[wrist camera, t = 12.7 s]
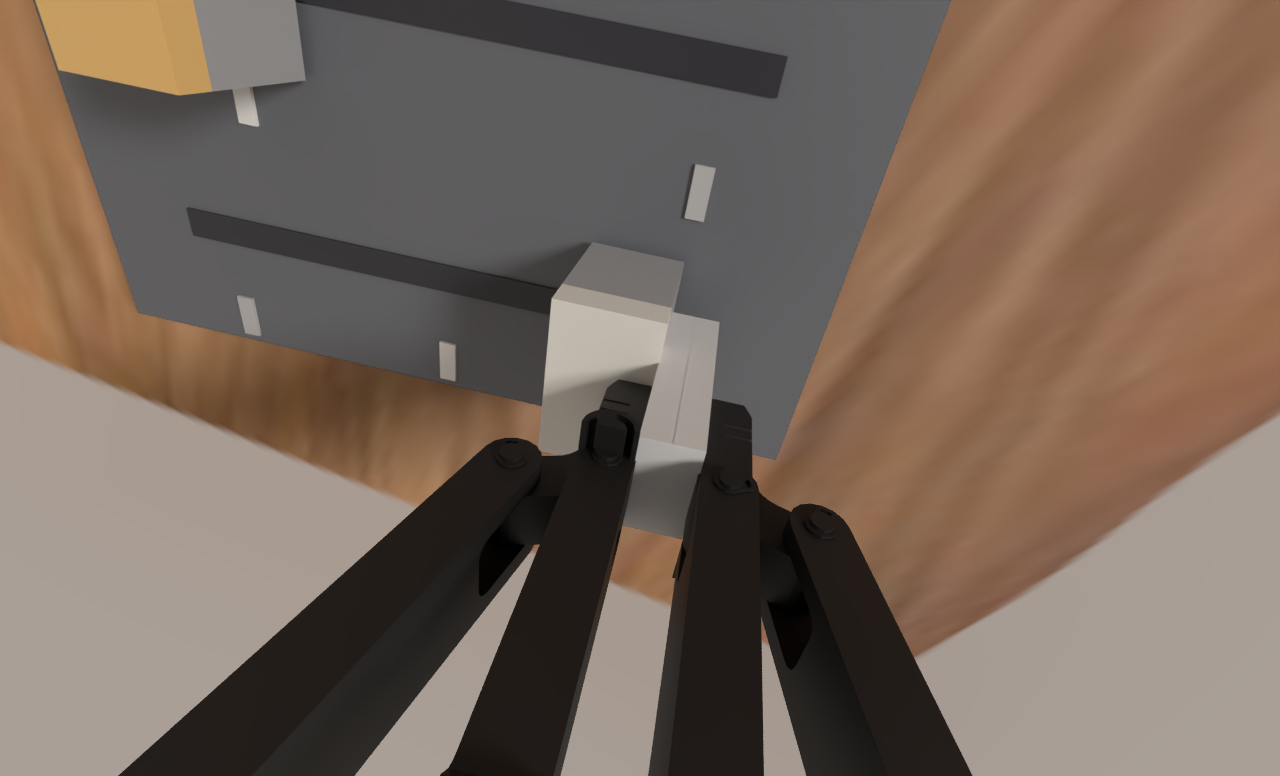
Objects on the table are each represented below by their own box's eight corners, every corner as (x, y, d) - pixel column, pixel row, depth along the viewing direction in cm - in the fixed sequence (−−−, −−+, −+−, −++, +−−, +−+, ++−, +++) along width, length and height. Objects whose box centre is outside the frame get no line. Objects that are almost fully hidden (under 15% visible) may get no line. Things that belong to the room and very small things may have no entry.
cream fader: (592, 242, 19) (551, 298, 15) (684, 262, 18) (667, 324, 15) (576, 373, 21) (537, 450, 17) (656, 392, 21) (635, 473, 17)
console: (60, -172, 17) (-39, -201, 15) (928, -5, 16) (955, -9, 14) (188, 289, 26) (135, 314, 23) (773, 422, 24) (776, 462, 22)
